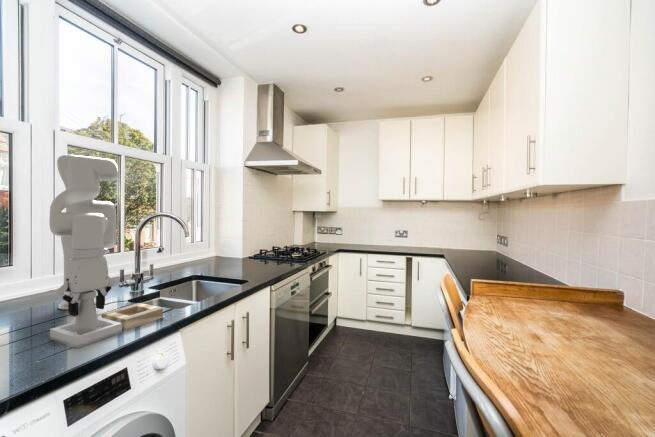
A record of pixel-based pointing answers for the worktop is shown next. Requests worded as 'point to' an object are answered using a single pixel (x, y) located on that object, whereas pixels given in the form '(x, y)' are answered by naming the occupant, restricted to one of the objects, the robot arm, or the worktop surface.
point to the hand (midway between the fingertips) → (87, 311)
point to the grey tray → (71, 338)
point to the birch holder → (134, 315)
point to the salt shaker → (86, 313)
